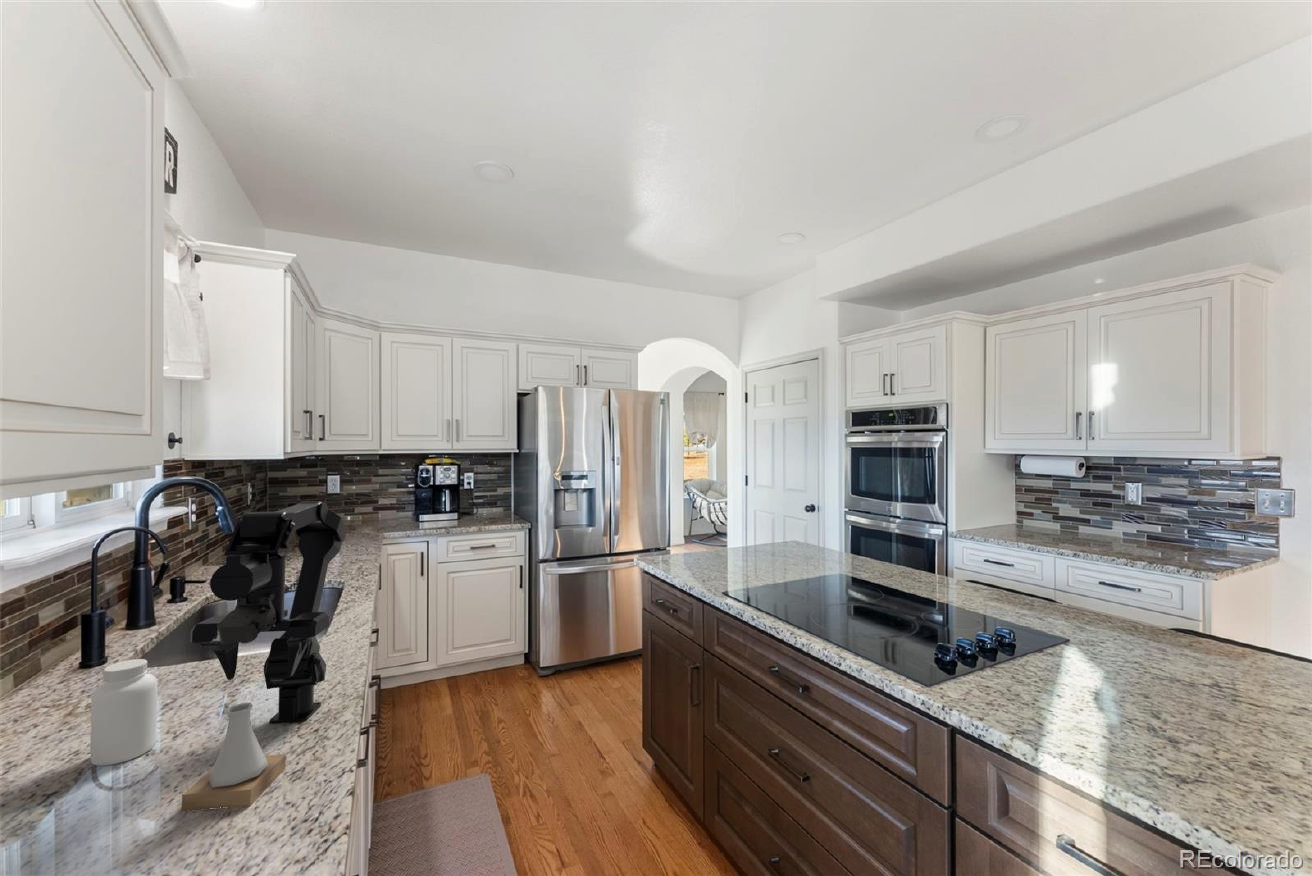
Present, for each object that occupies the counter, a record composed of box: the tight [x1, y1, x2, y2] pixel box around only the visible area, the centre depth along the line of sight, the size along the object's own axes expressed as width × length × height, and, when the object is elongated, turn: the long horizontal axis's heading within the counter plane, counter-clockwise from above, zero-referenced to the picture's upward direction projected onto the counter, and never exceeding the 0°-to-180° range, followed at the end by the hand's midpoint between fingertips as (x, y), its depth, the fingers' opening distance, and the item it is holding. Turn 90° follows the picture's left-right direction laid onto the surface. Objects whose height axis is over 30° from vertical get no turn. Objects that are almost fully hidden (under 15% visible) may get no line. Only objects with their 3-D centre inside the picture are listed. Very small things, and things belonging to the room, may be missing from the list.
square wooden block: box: [181, 753, 287, 812], centre depth 80 cm, size 9×9×3 cm
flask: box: [209, 702, 268, 788], centre depth 80 cm, size 7×7×10 cm
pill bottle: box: [89, 658, 158, 767], centre depth 89 cm, size 8×8×15 cm
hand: (261, 677), depth 89 cm, fingers open, 9 cm apart
